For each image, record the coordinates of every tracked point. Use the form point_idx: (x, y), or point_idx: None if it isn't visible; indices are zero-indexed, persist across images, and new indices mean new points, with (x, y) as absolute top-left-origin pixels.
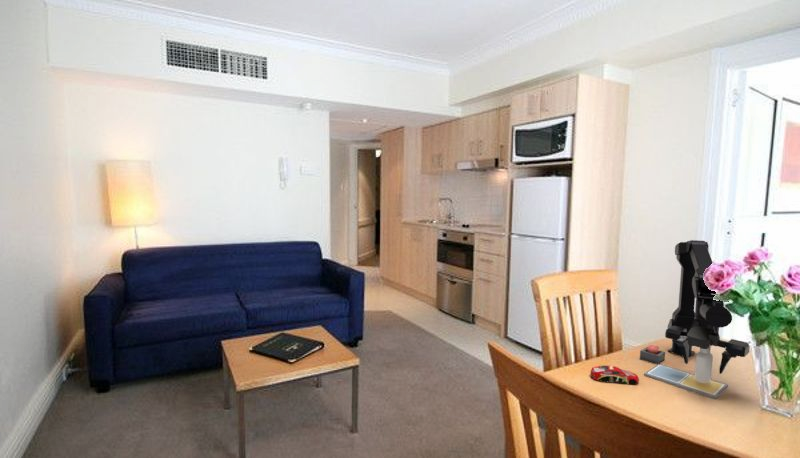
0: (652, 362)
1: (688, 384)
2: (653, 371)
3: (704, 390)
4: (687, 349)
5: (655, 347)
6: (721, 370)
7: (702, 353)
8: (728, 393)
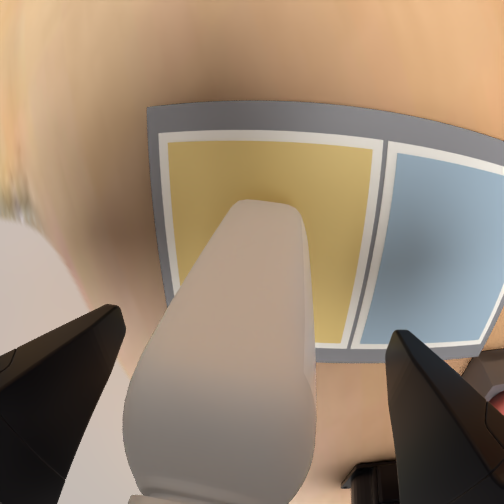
0: (494, 352)
1: (332, 171)
2: None
3: (222, 150)
4: (427, 482)
5: None
6: (82, 317)
7: (210, 487)
8: (143, 259)
